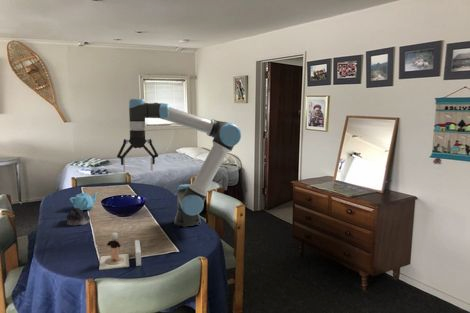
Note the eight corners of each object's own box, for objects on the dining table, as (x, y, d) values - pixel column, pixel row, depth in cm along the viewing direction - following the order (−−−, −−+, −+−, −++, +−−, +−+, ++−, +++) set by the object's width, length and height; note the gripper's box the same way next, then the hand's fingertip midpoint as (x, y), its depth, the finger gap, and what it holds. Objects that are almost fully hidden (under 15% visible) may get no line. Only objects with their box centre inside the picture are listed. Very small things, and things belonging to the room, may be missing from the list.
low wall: (139, 252, 166) (139, 239, 166) (141, 265, 153) (140, 252, 152) (135, 252, 166) (134, 240, 165) (136, 265, 153) (136, 252, 152)
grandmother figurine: (124, 259, 157) (124, 231, 155) (120, 263, 153) (120, 235, 151) (108, 257, 158) (107, 230, 156) (104, 261, 154) (103, 233, 152)
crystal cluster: (83, 218, 213) (81, 202, 211) (95, 221, 204) (93, 204, 203) (61, 225, 202) (58, 208, 201) (73, 229, 194) (70, 211, 192)
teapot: (68, 212, 221) (67, 195, 219) (81, 204, 235) (80, 188, 233) (87, 214, 220) (86, 196, 217) (99, 206, 233) (98, 190, 231)
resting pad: (128, 254, 163) (128, 253, 163) (129, 266, 152) (129, 265, 152) (100, 257, 159) (100, 256, 159) (99, 269, 148) (99, 268, 148)
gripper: (161, 129, 186) (161, 168, 189) (111, 129, 178) (112, 170, 182) (163, 130, 179) (163, 171, 182) (111, 130, 171) (112, 173, 175)
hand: (138, 170), depth 182 cm, fingers open, 13 cm apart
